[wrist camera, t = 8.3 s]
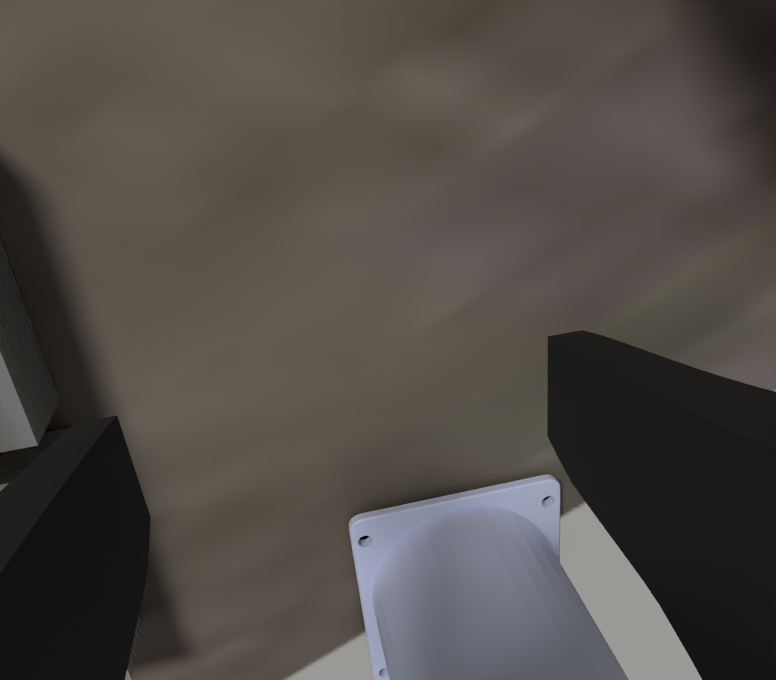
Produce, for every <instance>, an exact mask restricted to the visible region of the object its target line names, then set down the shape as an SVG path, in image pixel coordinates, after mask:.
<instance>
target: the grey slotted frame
mask: <svg viewBox="0 0 776 680" xmlns="http://www.w3.org/2000/svg"><path fill="white" fill-rule="evenodd" d="M59 401H60V399H59V396H58V393H57V391H56V388H55V385H54V383H53V380H52V377H51V374H50V372H49V369H48V366H47V364H46V361H45V358H44V355H43V353H42V350H41V347H40V345H39V342H38V339H37V336H36V334H35V331H34V328H33V326H32V323H31V320H30V317H29V315H28V312H27V309H26V307H25V304H24V301H23V299H22V296H21V293H20V290H19V288H18V285H17V282H16V280H15V277H14V274H13V271H12V269H11V266H10V263H9V261H8V258H7V255H6V252H5V250H4V247H3V244H2V242H1V239H0V453H1V452H3V454H2V456H1V457H0V491H1V490H2V489H3V488H4V487H5V486H7V485H8V484H9V483H10V482H11V481H12V480H13V479H14V478H15V477H16V476H18V475H19V474H20V473H21V472H22V471H23V470H24V469H25V468H26V467H27V466H28V465H30V464H31V463H32V462H33V461H34V460H35V459H36V458H37V457H38V456H39V455H40V454H41V453H43V452H44V451H45V450H46V449H47V448H48V447H49V446H50V445H51V444H52V443H54V442H55V441H56V440H57V439H58V438H59V437H60V436H61V435H63V434H64V433H65V432H66V431H67V430H69V429H70V428H64V429H59V430H53V431H48V432H45V430H46V428H47V426H48V424H49V422H50V420H51V417H52V415H53V413H54V411H55V409H56V407H57V405H58V403H59ZM140 627H141V618H140V616H139V615H138V620H137V625H136V630H135V634H134V639H133V644H132V649H131V653H130V658H129V663H128V668H127V672H126V677H125V680H132V675H133V669H134V663H135V657H136V651H137V645H138V639H139V633H140Z"/></svg>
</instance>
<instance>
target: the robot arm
mask: <svg viewBox="0 0 776 680" xmlns="http://www.w3.org/2000/svg"><path fill="white" fill-rule="evenodd" d="M548 438H549V440H550V442H551V444H552V446H553V448H554V450H555V452H556V454H557V456H558V458H559V460H560V462H561V463H562V465H563V467H564V469H565V471H566V473H567V474H568V476H569V478H570V480H571V482H572V483H573V485H574V486H575V487H576V489H577V490H578V492H579V493H580V495H581V496H582V497H583V499H584V500H585V502H586V503H587V504H588V506H589V507H590V508H591V510H592V511H593V513H594V514H595V515H596V517H597V518H598V519H599V521H600V522H601V524H602V525H603V526H604V528H605V529H606V530H607V532H608V533H609V534H610V536H611V537H612V539H613V540H614V541H615V543H616V544H617V545H618V547H619V548H620V550H621V551H622V552H623V554H624V555H625V556H626V558H627V559H628V560H629V562H630V563H631V564H632V566H633V567H634V568H635V570H636V571H637V573H638V574H639V575H640V577H641V578H642V580H643V581H644V582H645V584H646V585H647V587H648V588H649V590H650V591H651V593H652V594H653V596H654V597H655V599H656V600H657V602H658V603H659V605H660V606H661V608H662V610H663V612H664V613H665V615H666V617H667V618H668V620H669V622H670V624H671V625H672V627H673V629H674V630H675V632H676V634H677V636H678V637H679V639H680V641H681V642H682V644H683V646H684V648H685V650H686V651H687V653H688V654H689V656H690V658H691V660H692V661H693V663H694V665H695V667H696V669H697V671H698V673H699V674H700V676H701V678H702V680H776V392H774V391H770V390H766V389H762V388H759V387H755V386H751V385H748V384H745V383H741V382H738V381H735V380H731V379H728V378H725V377H721V376H718V375H715V374H712V373H709V372H705V371H702V370H699V369H696V368H693V367H690V366H687V365H685V364H682V363H679V362H676V361H673V360H670V359H667V358H664V357H662V356H659V355H656V354H653V353H651V352H648V351H645V350H642V349H639V348H637V347H634V346H631V345H628V344H625V343H623V342H620V341H617V340H614V339H611V338H608V337H605V336H601V335H598V334H595V333H591V332H587V331H582V330H581V331H576V332H570V333H565V334H559V335H554V336H548ZM547 496H550V497H549V498H548V499H547V500H545V501H542V500H543V499H544V498H545V497H547ZM349 533H350V539H351V545H352V551H353V557H354V563H355V569H356V575H357V581H358V587H359V593H360V600H361V606H362V612H363V618H364V624H365V630H366V636H367V642H368V648H369V654H370V660H371V666H372V672H373V678H374V680H628V678H627V676H626V675H625V673H624V671H623V669H622V668H621V666H620V665H619V663H618V661H617V659H616V658H615V656H614V654H613V652H612V651H611V649H610V647H609V646H608V644H607V642H606V641H605V639H604V637H603V636H602V634H601V632H600V630H599V629H598V627H597V625H596V624H595V622H594V620H593V618H592V617H591V615H590V613H589V612H588V610H587V608H586V607H585V605H584V603H583V601H582V600H581V598H580V596H579V595H578V593H577V591H576V590H575V588H574V586H573V585H572V583H571V581H570V579H569V578H568V576H567V574H566V573H565V571H564V569H563V568H562V566H561V564H560V562H559V558H560V557H559V556H560V555H559V554H560V553H559V551H560V484H559V482H558V481H557V479H556V478H555V477H554V476H552V475H541V476H536V477H532V478H527V479H522V480H517V481H513V482H508V483H503V484H498V485H494V486H489V487H484V488H480V489H475V490H470V491H465V492H461V493H456V494H451V495H446V496H442V497H437V498H432V499H427V500H423V501H418V502H413V503H409V504H404V505H399V506H394V507H390V508H385V509H380V510H375V511H371V512H366V513H361V514H358V515H356V516H354V517H353V518H352V519H351V520H350V522H349ZM149 534H150V514H149V511H148V508H147V505H146V502H145V499H144V496H143V493H142V490H141V487H140V484H139V481H138V478H137V475H136V472H135V469H134V466H133V463H132V460H131V457H130V454H129V451H128V448H127V445H126V442H125V439H124V435H123V432H122V429H121V426H120V423H119V420H118V417H117V416H113V417H107V418H102V419H96V420H91V421H85V422H80V423H77V424H75V425H74V426H73V427H71V428H70V429H69V430H67V431H66V432H65V433H64V434H63V435H61V436H60V437H59V438H58V439H57V440H56V441H55V442H54V443H52V444H51V445H50V446H49V447H48V448H47V449H46V450H45V451H44V452H43V453H41V454H40V455H39V456H38V457H37V458H36V459H35V460H34V461H33V462H32V463H31V464H30V465H28V466H27V467H26V468H25V469H24V470H23V471H22V472H21V473H20V474H19V475H18V476H16V477H15V478H14V479H13V480H12V481H11V482H10V483H9V484H8V485H7V486H5V487H4V488H3V489H2V490H1V491H0V680H125V677H126V672H127V668H128V663H129V658H130V653H131V649H132V644H133V639H134V634H135V630H136V625H137V620H138V615H139V610H140V605H141V600H142V596H143V591H144V586H145V580H146V575H147V566H148V552H149ZM363 536H369V537H368V538H367V539H365V540H360V538H361V537H363Z"/></svg>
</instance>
